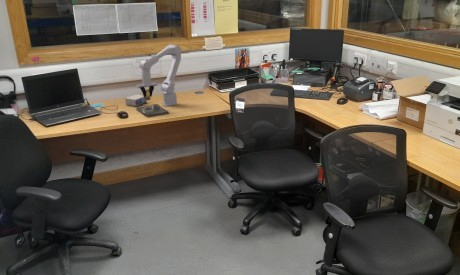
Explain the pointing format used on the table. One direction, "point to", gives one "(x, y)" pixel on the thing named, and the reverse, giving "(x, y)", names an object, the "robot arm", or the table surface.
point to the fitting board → (156, 111)
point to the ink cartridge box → (135, 100)
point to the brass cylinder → (147, 94)
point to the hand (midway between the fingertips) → (147, 96)
